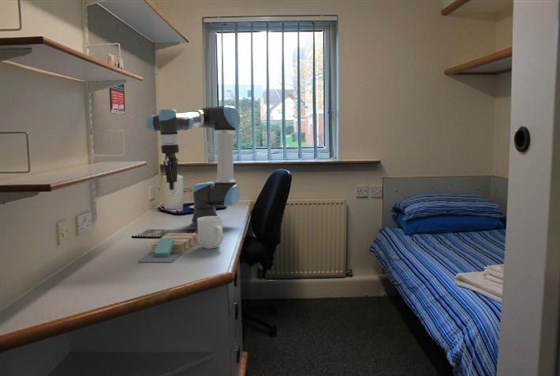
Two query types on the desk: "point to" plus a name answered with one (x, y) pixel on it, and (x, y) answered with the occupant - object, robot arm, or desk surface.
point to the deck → (179, 242)
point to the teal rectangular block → (164, 247)
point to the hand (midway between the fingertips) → (173, 196)
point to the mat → (161, 258)
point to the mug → (210, 231)
